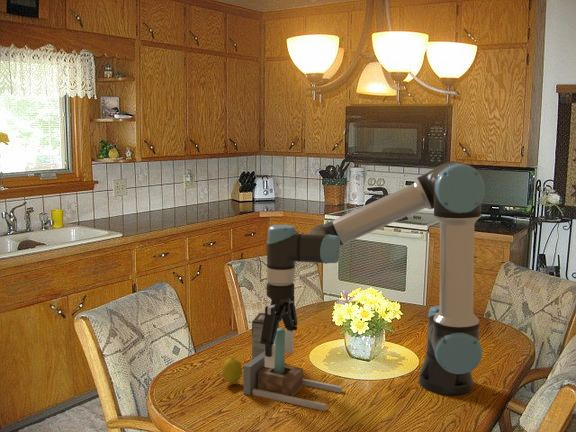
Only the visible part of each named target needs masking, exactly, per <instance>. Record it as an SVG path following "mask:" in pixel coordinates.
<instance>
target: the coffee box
mask: <svg viewBox="0 0 576 432" xmlns="http://www.w3.org/2000/svg"><path fill="white" fill-rule="evenodd" d="M264 317H265V312H259V313H258V314H257V315H256V316H255V318H254V319H253V320H252V321H251V360H253V359H254V358H255V357H257V356H258V355H260V354H261V353H262V352H264V351H265V344H261V343H260V341H261V335H262V329H263V323H264ZM278 328H280V327H279V325H278ZM273 344H274V343H273Z"/></svg>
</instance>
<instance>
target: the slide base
mask: <svg viewBox="0 0 576 432" xmlns="http://www.w3.org/2000/svg"><path fill="white" fill-rule="evenodd" d="M264 367H265V351H264V352H262V353H261V354H260V355H258V356H257V357H255V358H254V359H253V360H252V359H251V360H249V361H248V362H246V364H244V365H243V394H244V395H248V396H251V395H252V396H255V397H256V396H257V397H260V398H261V397H262V398H264V399H270V400H274V401H279V402H284V403H287V404H288V403H289V404H292V405H295V406H297V405H298V406H301V407H305V408H308V409H309V408H310V409H314V410H318V411H324V412H325V411H326V410H327V403H322V402H319V401H314V400H310V399H309V400H308V399H305V398H300V397H295V396H293V397H292V396H287V395H283V394H278V393H273V392H269V391H264V390H260V389H258V372H259V371H260V370H261V369H263V368H264ZM303 386H306V387H311V388H316V389H321V390H324V391H329V392H335V393H338V394H341V393H342V392H343V386H342V385H336V384H332V383H326V382H321V381H316V380H311V379H306V378H303Z"/></svg>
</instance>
